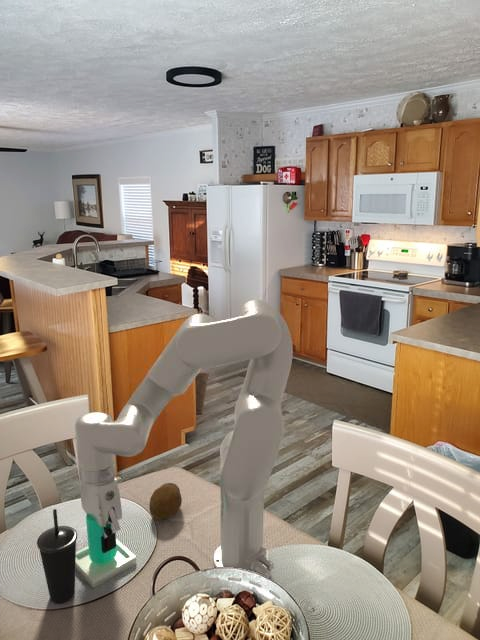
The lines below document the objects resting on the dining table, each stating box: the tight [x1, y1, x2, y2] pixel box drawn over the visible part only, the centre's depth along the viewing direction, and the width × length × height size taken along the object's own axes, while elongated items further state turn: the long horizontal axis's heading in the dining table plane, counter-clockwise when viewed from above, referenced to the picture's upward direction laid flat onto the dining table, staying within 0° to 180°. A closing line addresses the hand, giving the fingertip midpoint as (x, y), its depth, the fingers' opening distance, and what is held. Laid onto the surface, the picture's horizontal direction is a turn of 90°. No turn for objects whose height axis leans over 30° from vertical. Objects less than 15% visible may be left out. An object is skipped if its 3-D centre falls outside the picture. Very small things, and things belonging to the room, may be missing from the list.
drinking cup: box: [36, 508, 78, 605], centre depth 103 cm, size 8×8×20 cm
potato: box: [149, 482, 183, 521], centre depth 131 cm, size 8×12×8 cm, turn 178°
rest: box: [75, 538, 137, 589], centre depth 114 cm, size 11×11×2 cm
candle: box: [85, 513, 117, 564], centre depth 113 cm, size 6×6×12 cm
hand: (102, 542), depth 113 cm, fingers closed on candle, 4 cm apart
